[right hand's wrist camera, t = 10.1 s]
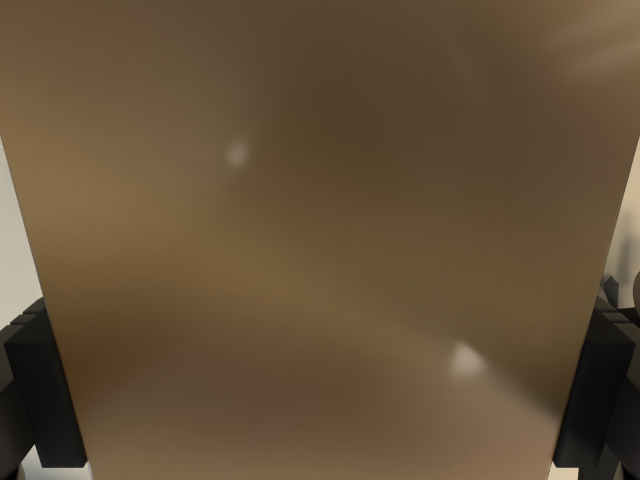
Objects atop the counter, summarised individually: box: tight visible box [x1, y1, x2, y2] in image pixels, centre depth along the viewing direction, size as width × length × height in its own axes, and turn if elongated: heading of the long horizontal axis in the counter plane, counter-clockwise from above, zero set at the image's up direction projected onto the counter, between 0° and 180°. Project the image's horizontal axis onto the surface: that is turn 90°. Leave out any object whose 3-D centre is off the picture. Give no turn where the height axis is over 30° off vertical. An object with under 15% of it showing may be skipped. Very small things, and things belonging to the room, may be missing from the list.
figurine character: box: [578, 271, 640, 480], centre depth 28 cm, size 7×8×15 cm
